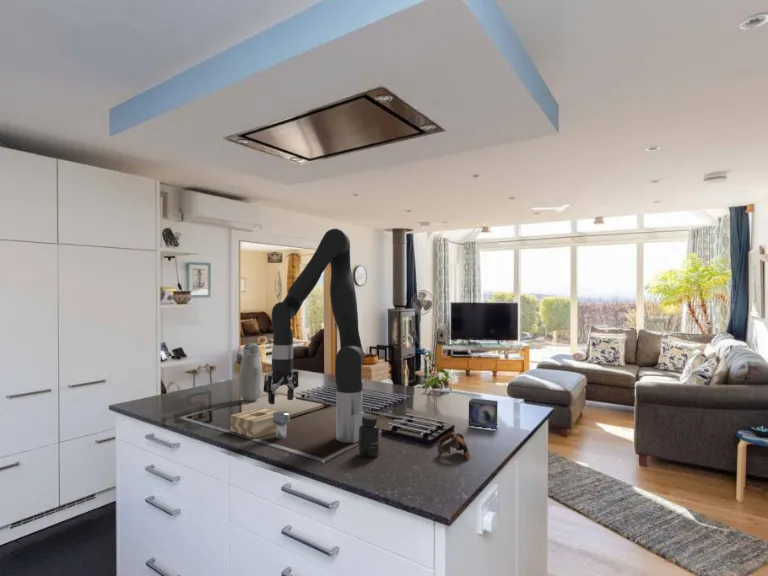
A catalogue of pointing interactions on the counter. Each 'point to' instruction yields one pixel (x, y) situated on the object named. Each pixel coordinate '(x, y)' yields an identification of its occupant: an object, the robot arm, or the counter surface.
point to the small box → (483, 413)
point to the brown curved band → (453, 444)
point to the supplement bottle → (369, 437)
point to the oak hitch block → (253, 422)
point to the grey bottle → (251, 373)
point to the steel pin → (281, 423)
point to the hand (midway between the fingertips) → (281, 401)
